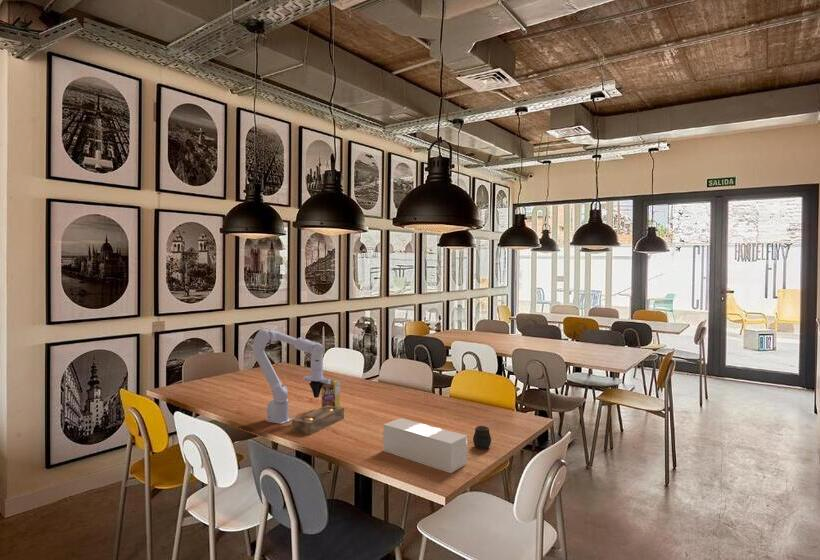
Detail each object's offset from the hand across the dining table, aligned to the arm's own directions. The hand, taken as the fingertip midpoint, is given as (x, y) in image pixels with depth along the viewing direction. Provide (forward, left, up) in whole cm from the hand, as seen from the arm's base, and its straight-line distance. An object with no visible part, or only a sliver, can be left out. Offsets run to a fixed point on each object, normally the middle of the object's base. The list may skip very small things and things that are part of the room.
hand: (316, 397), depth 227 cm
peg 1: (+6, -14, -10) cm, 18 cm away
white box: (+64, -19, -11) cm, 68 cm away
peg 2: (+6, +2, -10) cm, 12 cm away
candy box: (-3, +16, -11) cm, 19 cm away
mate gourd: (+81, +1, -11) cm, 82 cm away
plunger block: (+6, -6, -10) cm, 13 cm away
